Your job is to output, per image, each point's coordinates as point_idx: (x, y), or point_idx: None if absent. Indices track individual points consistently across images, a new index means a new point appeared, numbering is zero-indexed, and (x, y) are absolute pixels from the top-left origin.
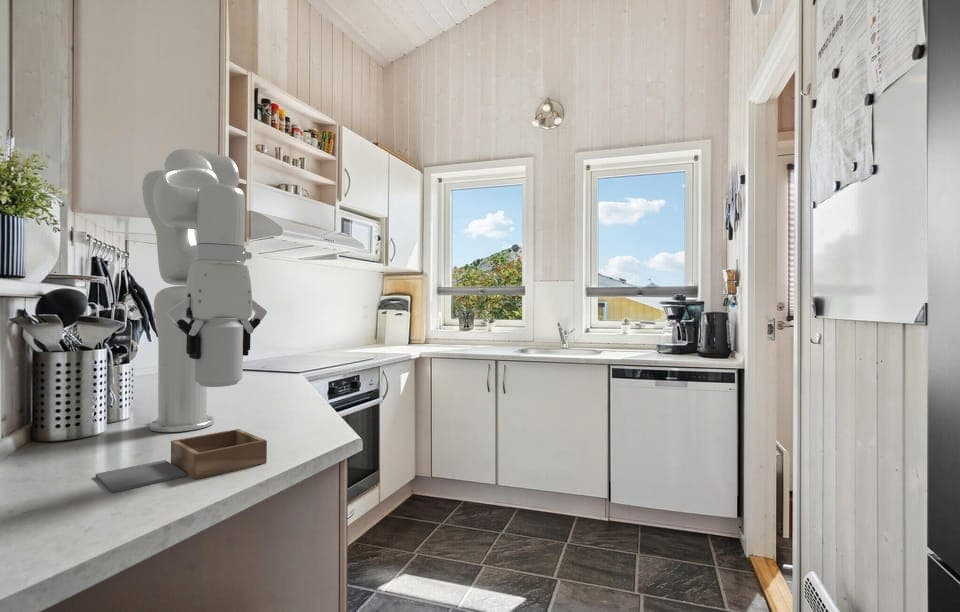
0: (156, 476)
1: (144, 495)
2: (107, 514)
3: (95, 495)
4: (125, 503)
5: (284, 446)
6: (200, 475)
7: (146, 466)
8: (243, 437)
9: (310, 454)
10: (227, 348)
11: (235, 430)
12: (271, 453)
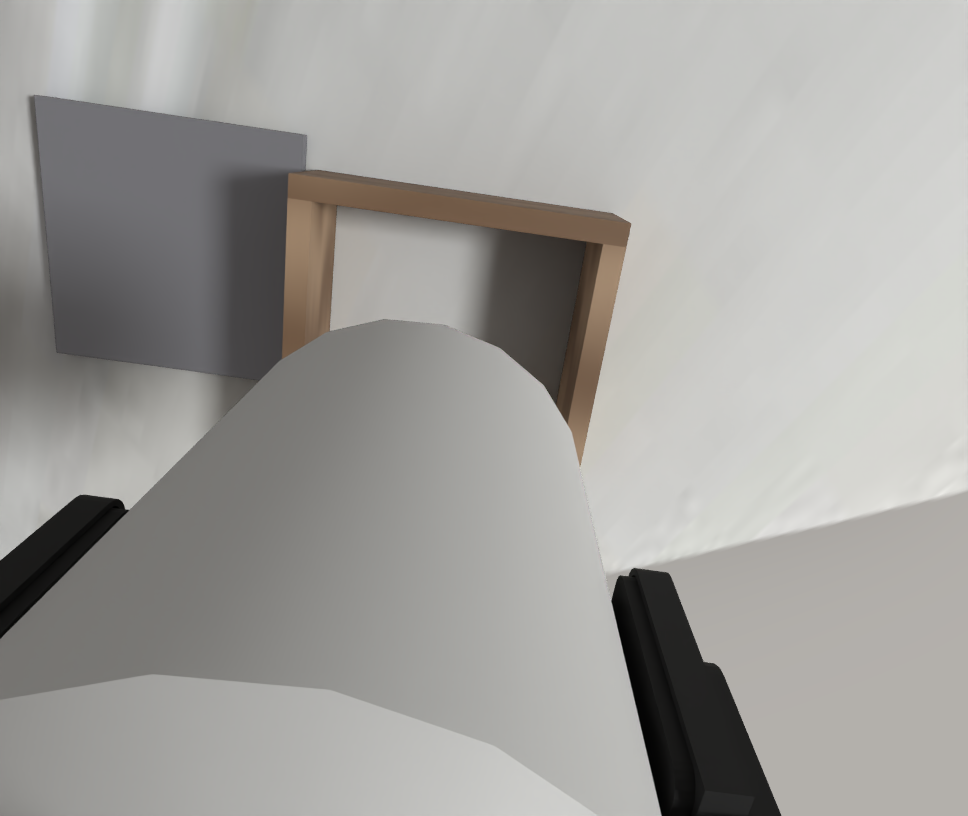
0: (204, 335)
1: (138, 449)
2: (27, 511)
3: (18, 326)
4: (80, 470)
5: (763, 339)
6: None
7: (213, 170)
8: (582, 331)
9: (728, 515)
10: None
11: (600, 243)
12: (656, 384)
